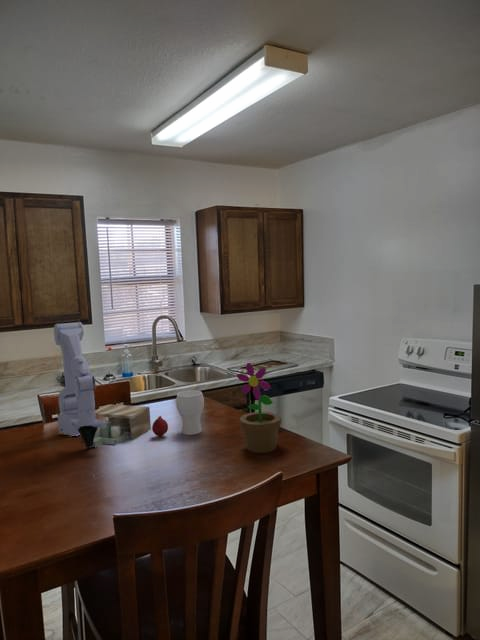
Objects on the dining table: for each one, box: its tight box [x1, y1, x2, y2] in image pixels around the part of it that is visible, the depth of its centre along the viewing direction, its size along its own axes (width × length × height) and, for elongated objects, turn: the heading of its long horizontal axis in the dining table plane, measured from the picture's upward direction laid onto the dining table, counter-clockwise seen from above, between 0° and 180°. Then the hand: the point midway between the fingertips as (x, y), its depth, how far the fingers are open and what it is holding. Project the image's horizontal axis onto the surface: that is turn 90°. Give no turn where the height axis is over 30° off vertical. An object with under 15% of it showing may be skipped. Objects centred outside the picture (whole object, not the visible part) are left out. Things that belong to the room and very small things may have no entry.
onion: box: [151, 415, 169, 438], centre depth 170 cm, size 6×6×8 cm
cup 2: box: [175, 389, 205, 436], centre depth 174 cm, size 11×11×15 cm
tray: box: [90, 420, 131, 449], centre depth 169 cm, size 14×14×7 cm
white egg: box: [111, 425, 122, 439], centre depth 170 cm, size 3×3×4 cm
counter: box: [95, 404, 152, 441], centre depth 178 cm, size 19×12×9 cm, turn 70°
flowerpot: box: [236, 362, 282, 454], centre depth 154 cm, size 14×14×30 cm
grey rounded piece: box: [94, 427, 102, 437], centre depth 172 cm, size 3×3×4 cm
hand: (89, 446), depth 162 cm, fingers closed, pressing on tray
